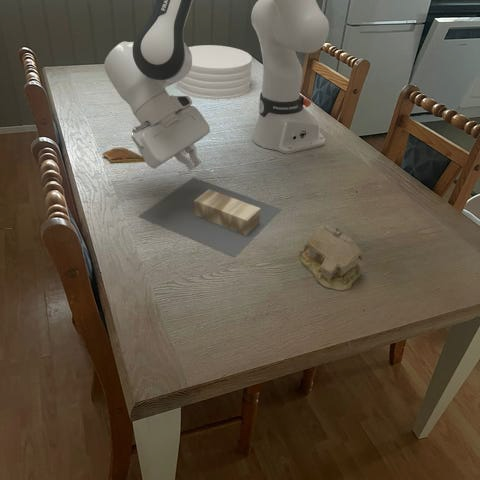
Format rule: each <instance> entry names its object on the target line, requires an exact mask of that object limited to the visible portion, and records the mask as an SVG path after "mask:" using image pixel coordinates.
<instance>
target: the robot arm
mask: <svg viewBox="0 0 480 480" xmlns="http://www.w3.org/2000/svg"><path fill="white" fill-rule="evenodd" d="M193 2H194V0H156V1H155V4H154V7H153V10H152V12H151V15H150V17H149V18H148V20H147V21H146V22H145V24H144V25H143V26H142V27H141V29H140V30H139V31H138V32H137V33H136V36H135V37H134V40H133V41H121V42H119V43H117V45H115V46H114V47H112V48H111V50H110V51H109V52H108V54H107V55H106V57H105V60H104V64H103V67H104V71H105V73H106V75H107V78H108V79H109V81H110V82H111V84H112V86H113V88H114V89H115V90H116V92H117V93H118V94H119V95H118V96H120V97H121V99H123V101H125V102H126V104H127V105H129V107H130V109H131V111H132V114H133V115H134V117H135V118H136V120H137V121H138V122H139V124H140V125H138V126H135V127H134V128H132V131H131V139H132V141H133V142H134V144H135V145H136V148H137V150H138V151H139V153H140V156H142V157H143V158H144V160H145V161H144V162H145V163H146V164H147V166H148V168H149V167H150V168H151V169H154V170H155V169H157V168H159V167H160V166H161V165H163V164H165V163H167V162H168V161H169V160H171V159H172V158H175V159H176V161H178V162H180V163H182V164H183V165H185V166H186V167H187V169H188V170H189V171H192V170H194V169H195V168H196V167H198V166H199V165H200V164H201V163H202V161H201V159H200V158H199V157H198V152H197V147H196V146H195V145H194V144H195V143H197V142H198V141H200V140H202V139H204V138H205V137H206V136H207V135H209V134H210V133H211V128H210V125H209V123H208V122H207V120H206V119H205V117H204V116H203V115H202V112H200V110H198V108H197V107H195V106H194V105H193V100H192V99H191V97H190V96H189V95H173V94H172V95H170V94H169V93H168V91H167V90H166V88H167V87H169V86H171V85H173V84H175V83H177V82H178V81H180V80H182V79H183V78H184V77H185V76H186V75H187V74H188V73H189V71H190V69H191V66H192V55H191V52H190V50H189V48H188V47H189V46H188V45H187V44H186V42H185V41H184V29H185V26H186V22H187V20H188V16H189V13H190V10H191V8H192V4H193ZM250 21H251V25H252V27H253V29H254V30H255V32H256V35H257V38H258V41H259V45H260V52H261V57H262V66H263V68H262V69H263V73H262V85H261V86H262V87H261V92H260V95H259V101H258V102H259V103H258V113H259V114H258V119H257V122H256V126H255V129H254V132H253V135H252V140H253V142H254V143H255V144H256V145H258V146H260V147H262V148H265V149H268V150H274V151H278V152H281V153H284V154H291V153H296V152H299V151H300V152H301V151H304V150H308V149H312V148H316V147H321V146H324V145H325V143H326V139H325V136H324V134H322V132H320V125H319V124H320V123H319V121H318V120H317V119H316V117H314V115H313V114H311V113H310V111H308V110H307V109H306V108H308V107H310V106H311V105H312V102H311V100H310V99H308V98H305V97H304V96H303V95H301V87H302V80H303V74H304V73H303V72H304V71H303V66H302V64H301V62H300V60H299V58H298V55H297V53H303V54H304V53H305V54H306V53H308V54H312V53H316V52H317V51H319V50H321V48H322V47H324V45H325V44H326V41H327V39H328V37H329V34H330V33H329V32H330V22H329V20H328V18H327V17H326V15H325V14H324V13H323V11H322V10H321V8H320V6H319V4H318V2H317V0H257V1H256V2H255V4H254V6H253V7H252V10H251V15H250ZM187 155H189V156H187Z"/></svg>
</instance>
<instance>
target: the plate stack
mask: <svg viewBox="0 0 480 480" xmlns="http://www.w3.org/2000/svg"><path fill="white" fill-rule="evenodd" d="M188 48H189V50H190V52H191V55H192V66H191V69H190V71H189V73H188V74H187V75H186V76H185V77H184V78H183V79H182V80H180V81H178V82H176V87H177V89H178V91H180V92H181V93H182V94H184V95H185V96H188V97H193V98H196V99H202V100H208V99H211V101H220V100H219V99H226V100H232V99H231V98H234V99H237V98H236V97H238V98H241V97H243V96H246V95H247V94H248V93H249V92H250V90H251V77H252V62H253V56H252V55H251V54H250V53H249V52H247V51H244V50H242V49H239V48H235V47H231V46H224V45H217V44H215V45H213V44H210V45H208V44H205V45H203V44H202V45H193V46H188ZM240 96H241V97H240ZM213 99H214V100H213ZM216 99H217V100H216Z"/></svg>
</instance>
